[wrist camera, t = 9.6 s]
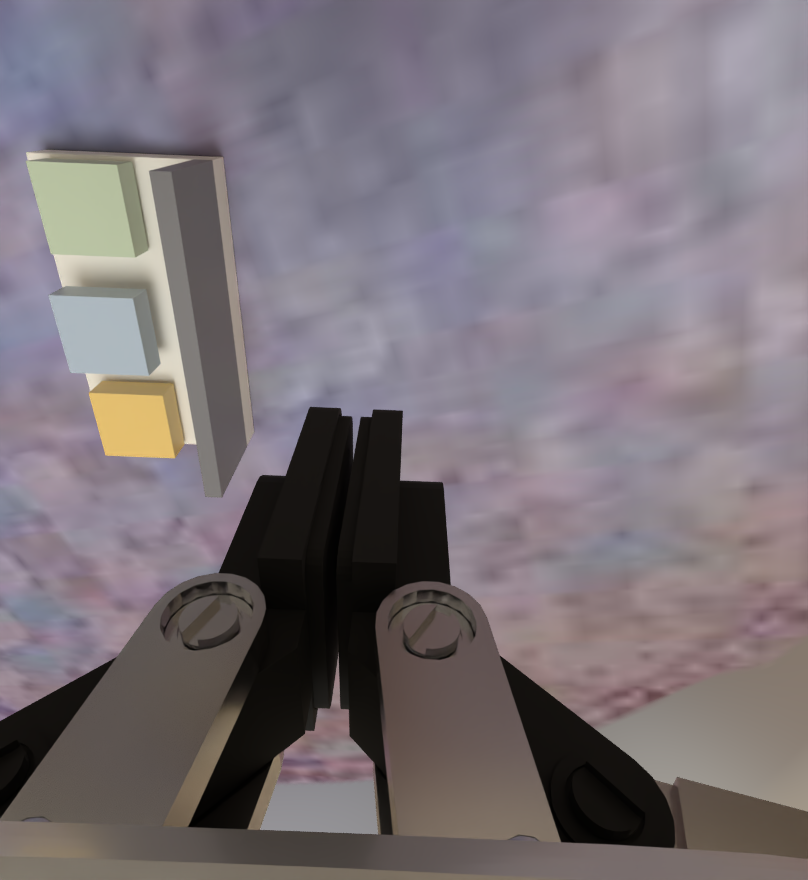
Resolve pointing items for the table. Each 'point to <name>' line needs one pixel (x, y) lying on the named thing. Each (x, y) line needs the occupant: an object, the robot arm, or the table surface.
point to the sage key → (89, 207)
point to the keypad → (183, 300)
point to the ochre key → (137, 419)
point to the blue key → (106, 330)
